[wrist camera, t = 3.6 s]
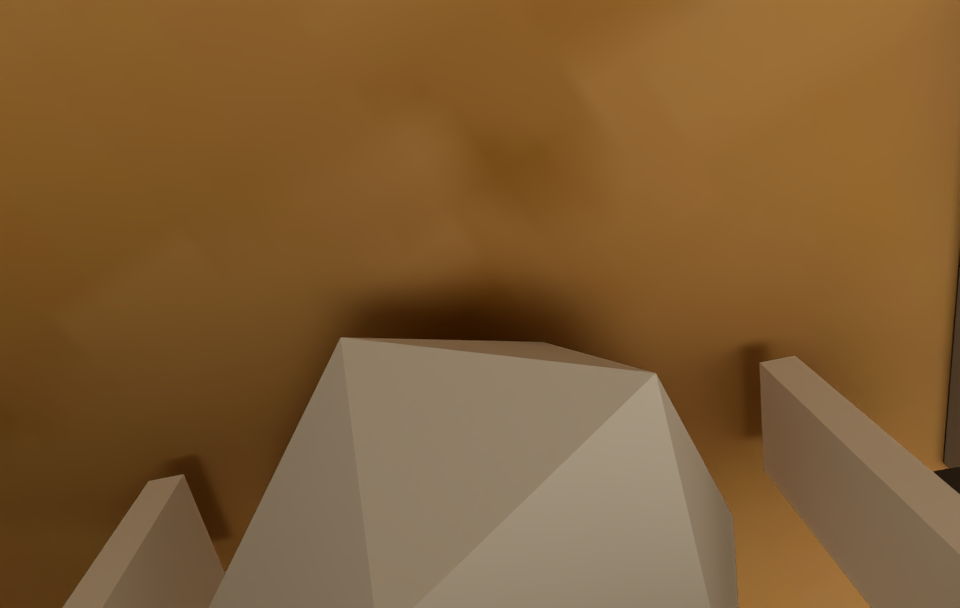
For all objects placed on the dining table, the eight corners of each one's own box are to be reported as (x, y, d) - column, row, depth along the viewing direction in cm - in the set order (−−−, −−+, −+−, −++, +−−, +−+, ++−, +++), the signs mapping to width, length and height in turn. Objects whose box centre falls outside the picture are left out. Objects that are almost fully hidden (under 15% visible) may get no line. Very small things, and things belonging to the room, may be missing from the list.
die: (282, 246, 14) (-30, 797, 8) (696, 156, 10) (609, 1180, 4) (466, 434, 19) (347, 849, 14) (789, 431, 15) (805, 1042, 9)
